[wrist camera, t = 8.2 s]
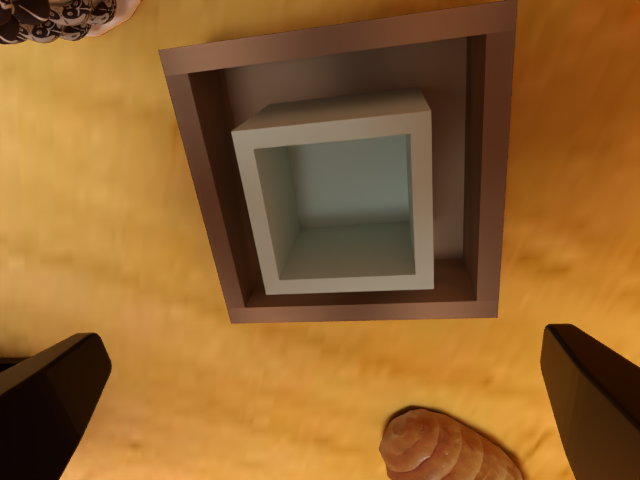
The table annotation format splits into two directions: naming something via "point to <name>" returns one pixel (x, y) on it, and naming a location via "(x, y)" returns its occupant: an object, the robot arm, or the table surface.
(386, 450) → the pastry
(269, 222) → the small crate
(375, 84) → the big crate
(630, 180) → the table surface
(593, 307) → the table surface
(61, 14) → the decorative candle
